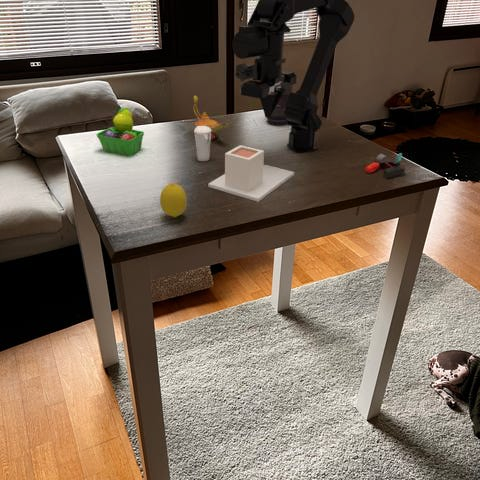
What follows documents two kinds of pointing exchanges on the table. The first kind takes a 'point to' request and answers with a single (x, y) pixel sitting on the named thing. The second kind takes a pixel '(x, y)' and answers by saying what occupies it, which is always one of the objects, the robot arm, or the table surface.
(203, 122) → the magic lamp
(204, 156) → the takeaway coffee cup
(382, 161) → the toy gun
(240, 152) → the salmon pink square block
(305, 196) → the table surface
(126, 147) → the fruit basket
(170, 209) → the lemon
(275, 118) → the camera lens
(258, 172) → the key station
